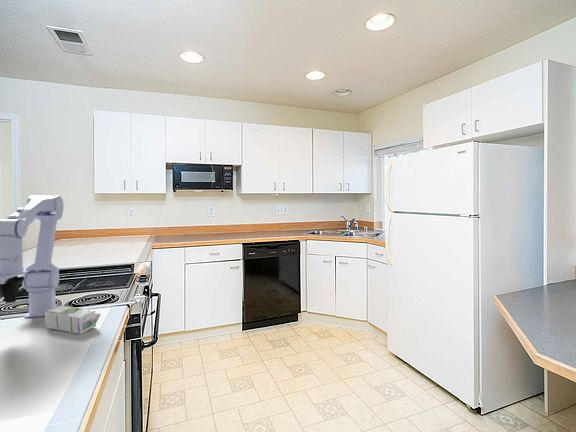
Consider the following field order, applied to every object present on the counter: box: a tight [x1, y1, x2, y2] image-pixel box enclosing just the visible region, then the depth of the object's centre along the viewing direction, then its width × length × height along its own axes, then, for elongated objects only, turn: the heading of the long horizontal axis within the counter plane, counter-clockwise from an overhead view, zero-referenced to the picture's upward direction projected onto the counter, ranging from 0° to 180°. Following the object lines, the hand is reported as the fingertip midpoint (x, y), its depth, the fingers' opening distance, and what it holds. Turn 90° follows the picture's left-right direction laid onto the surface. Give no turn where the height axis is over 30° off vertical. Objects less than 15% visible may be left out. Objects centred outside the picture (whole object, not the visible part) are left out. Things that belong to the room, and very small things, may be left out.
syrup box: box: [44, 304, 97, 335], centre depth 102 cm, size 6×6×14 cm
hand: (10, 302), depth 96 cm, fingers closed
